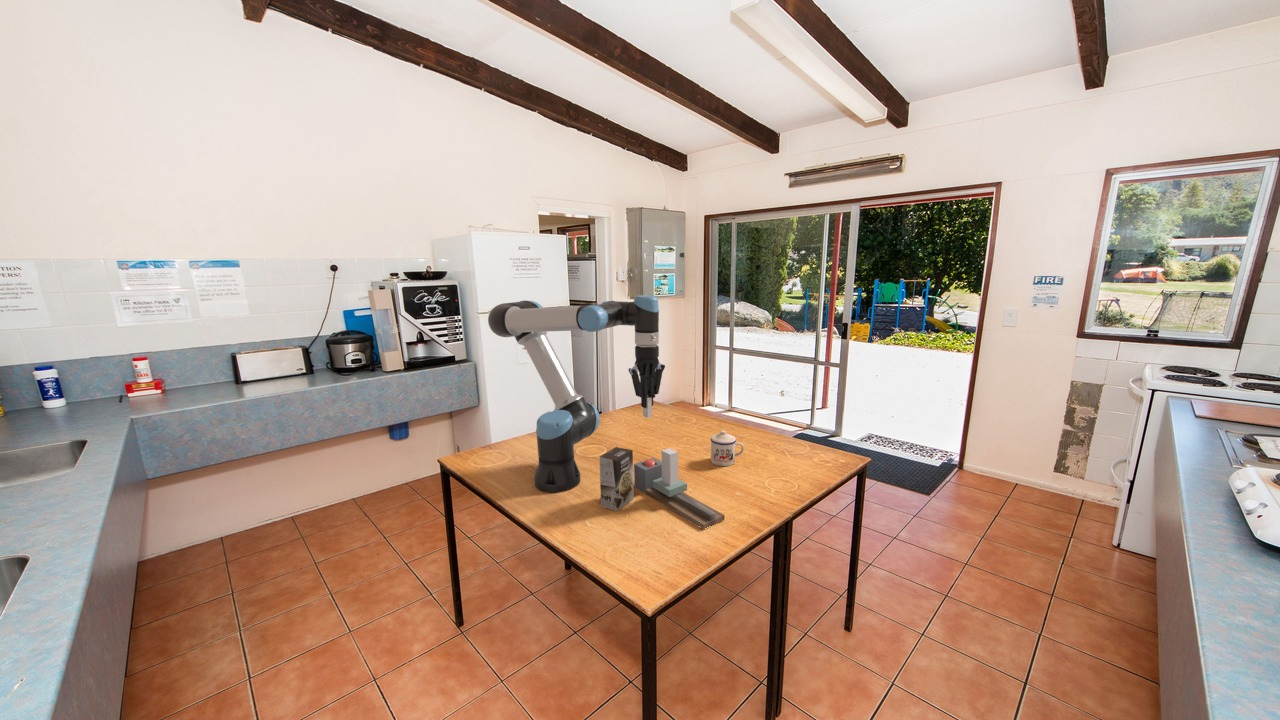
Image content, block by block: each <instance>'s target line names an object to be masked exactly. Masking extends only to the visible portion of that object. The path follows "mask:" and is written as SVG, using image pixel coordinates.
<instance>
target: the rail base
mask: <svg viewBox="0 0 1280 720" xmlns="http://www.w3.org/2000/svg"><path fill="white" fill-rule="evenodd" d="M645 495H647V496H648V497H650V498H651V499H653V500H655V501H656V502H658V503H660V504H662V505H663V506H665V507H666V508H668V510H669V509H670V510H671V511H673V512H674V513H676V514H677V515H679V516H681V517H682V518H684V519H685V518H686V520H687V521H689V522H690V521H691V522H690V523H692V524H693V525H695V524H696V525H695V526H697V525H698V526H700V527H702V528H703V529H705V528H707V527H709V526H711V527H713V526H715V525H717V524H719V523H721V522H720V521H722V520H724V521H725V514H723V513H721V512H720V511H718V510H716V509H714V508H712V507H711V506H709V505H707V504H705V503H704V502H701V501H700V500H698V499H696V498H694V497H692V496H691V495H689V494H687V493H685V491H684V492H681V493H679V494H676V495H674V496H671V497H668V496H667V495H665V494H663V493H662V492H660V491H658V490H657V489H655V488H653V487H651V488H649V489H646V494H645ZM718 522H719V523H718ZM722 522H723V521H722ZM716 523H717V524H716ZM714 524H715V525H714ZM712 525H713V526H712ZM698 526H697V527H698ZM700 527H699V528H700ZM702 528H701V529H702ZM709 528H710V527H709ZM703 529H702V530H703ZM707 529H708V528H707ZM705 530H706V529H705Z"/></svg>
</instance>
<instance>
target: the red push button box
mask: <svg viewBox="0 0 1280 720" xmlns="http://www.w3.org/2000/svg"><path fill="white" fill-rule="evenodd" d="M647 460H654V461H655V465H654V466H652V467H649V468H648V467H647V466H645V465H644V461H645V460H643V461H639V462H637V463H633V484H634V488H635V489H637V490H639V491H641V492H642V493H644V494H645V495H647V494H646V489H649V488H651V487H653V480H656V479H659V478H662V460H659V459H657V458H656V457H652V458H649V459H647Z"/></svg>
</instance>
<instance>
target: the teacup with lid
mask: <svg viewBox="0 0 1280 720" xmlns="http://www.w3.org/2000/svg"><path fill="white" fill-rule="evenodd" d="M736 446H740V447H741V450H740V451H739V452H738V453H737V452H736ZM744 451H745V447H744V444H743V443H741V442H737V438H736V437H735V436H734V435H732V434H729V433H727V431H726V430H720V432H719V433H716V434H713V435H712V436H711V437H710V461H711V463H712V464H713V465H716V466H720V467H728V466H729V467H730V466H733V465H734V464H735V462H736V457H740V456H742V454H743V453H744Z"/></svg>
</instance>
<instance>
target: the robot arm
mask: <svg viewBox="0 0 1280 720" xmlns="http://www.w3.org/2000/svg"><path fill="white" fill-rule="evenodd" d="M659 308H660V307H659V299H658V297H657V296H656V295H643V294H642V295H635V297H634V300H633V301H617V300H608V301H607V300H606V301H603V302H601V303H599V304H587V305H586V304H585V305H571V306H570V305H569V306H568V305H567V306H552V307H551V306H549V307H543V306H542V305H541V304H540V303H539V302H537V301H535V300H520V301H514V302H503V303H500V304H497V305H495V306H494V307H493V308H492V309H491V311H489V313H488V317H487V318H488V319H487V320H488V321H487V323H488V326H489V329H490V330H491V332H492V333H493V334H495V335H496V336H498V337H501V338H512V337H514V338H515V340H516V342H517V344H518V345H520V346H523V347H524V348H525V349H526V350H525V351H526V352H527V353H528V356H529V358H530V360H531V361H532V363H533V365H534V367H535V370H536V372H537V374H538V375H539V377H540V378H541V381H542V383H543V384H544V386H545V388H546V390H547V392H548V394H549V395H550V398H551V399H552V402H553V404H554V409H553V410H552V411H547V412H545V413H543V414H541V415H540V416H539V417H538V418H537V420H536V427H535V428H536V429H535V432H536V440H537V457H538V464H537V467H536V470H535V474H534V486H535V488H536V489H537V490H539V491H542V492H545V493H561V492H566V491H569V490H572V489H574V488H575V487H577V486H579V484H580V483H581V472H580V470H579V467H578V465H577V463H576V460H575V451H574V450H575V448H574V447H575V445H576V444H578V443H579V442H581V441H582V440H584V439H586V438H588V437H590V436H592V434H593V433H595V432H596V431H597V429H598V427H599V424H600V420H601V418H600V412H599V410H598V409H597V407H596V406H595V405H594V404H593V403H591V402H589V401H586V399H585V398H584V396H583V395H581V394H578V393H577V391H576V389H575V388H574V386H573V384H572V381H571V380H570V378H569V376H568V374H567V372H566V370H565V369H564V367H563V365H562V363H561V360H560V358H559V357H558V355H557V353H556V352H555V351H556V350H555V349H554V347H553V345H552V344H551V342H550V340H549V338H548V336H547V334H548V332H574V331H575V332H577V331H586V332H589V333H591V332H592V333H593V332H600V331H601V330H604V329H609V328H614V327H617V326H631V327H632V326H634V344H635V346H634V357H635V362H634V366H633V367H631V368H628V370H627V371H628V373H629V374H630V375H631V380H632V385H633V390H634V393H635V396H636V397H638V398H640V401H641V402H640V406H641V407H642V413H643V414H642V416H643V417H644V418H647V419H649V418H652V417H653V416H652V413H653V412H652V410H653V409H652V408H653V406H654V398H655V399H656V395H659V393H660V387H661V384H662V383H661V382H662V378H663V377H662V376H663V372H664V370H665V369H666V365H665V364H664V363H663V364H662V363H660V360H659V355H660V350H659V349H660V347H659V343H660V342H659V339H660V334H659V333H660V332H659V327H660V326H659V322H660V318H659V317H660V316H659V315H660V309H659Z"/></svg>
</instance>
